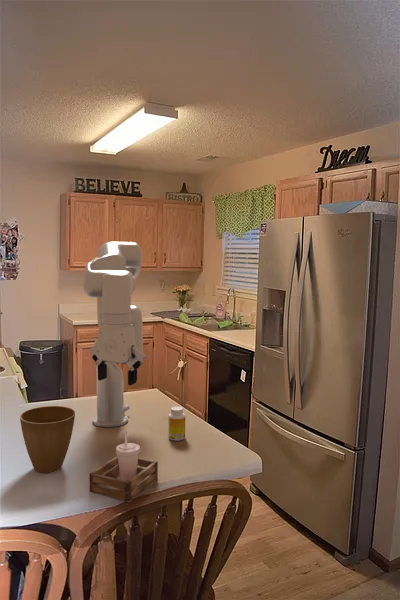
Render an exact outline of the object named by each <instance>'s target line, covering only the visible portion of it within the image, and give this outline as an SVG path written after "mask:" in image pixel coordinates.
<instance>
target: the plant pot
mask: <svg viewBox="0 0 400 600" xmlns="http://www.w3.org/2000/svg"><path fill="white" fill-rule="evenodd" d="M75 417H76V410H74V409H73V408H71V407H68V406H61V405H47V406H44V405H43V406H39V407H34V408H30V409H27V410H24V411H23V412H22V413H21V414H20V415H19V420H20V421H19V422H20V427H21V432H22V437H23V441H24V445H25V449H26V451H27V454H28V457H29V460H30V462H31V464H32V468H33V469H34V471H35V472H36V473H38V474H53V473H56V472H58V471H60V470H61V469H62V467H63V464H64V463H65V462H64V461H65V459H66V456H67V453H68V450H69V447H70V443H71V438H72V435H73V430H74V424H75V419H76V418H75Z"/></svg>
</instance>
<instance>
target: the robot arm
mask: <svg viewBox="0 0 400 600" xmlns="http://www.w3.org/2000/svg"><path fill="white" fill-rule="evenodd" d="M143 256H144V255H143V250H142V248H141V246H140V245H139V244H138V243H137V242H134V241H133V242H132V241H129V242H128V241H108V242H105V243H103V244H101V245H100V246H99V247H98V249H97V256H96V257H93V258H92V259H90V260H89V262H88V263H86V266H85V267H84V271H83V277H82V278H83V279H82V280H83V281H82V282H83V284H82V286H83V290H84V293H85V295H86V296H87V297H90V298H96V303H97V304H96V307H97V308H96V309H97V311H96V313H97V314H96V315H97V326H98V330H97V337H96V340H94V343H93V346H92V347H90V348H89V352H90V354H91V355H90V356H92V357H91V358H92V360H93V361H94V362H95V364H94V365H95V370H96V416H94V417H93V418H92V423H93V425H95V426H97V427H101V428H114V427H115V428H116V427H121V426H124V425H126V424H127V422H129V417H128V416H127V415H125V413H126V412H127V411H128V410H130V409H131V408H130V405H129V404H126V405H125V404H124V403H125V402H124V398H125V397H124V372H123V370H122V369H121V368H120V367H119V365H118V364H121V365H122V364H124V365H125V364H126V366H127V367H128V369H129V370H127V385H128V386H132V385H134V384H136V383H137V381H138V369H139V368H140V367H141V366H142V365H143V364H144V361H145V359H146V356H147V355H146V354H145V353H144V336H143V335H144V333H143V332H144V327H143V314H142V310H141V308H140V307H139V306H137V305H133V304H132V294H134V292H135V290H136V280H137V279H138V278H140V277H139V276H140V274H141V269H142V265H143V260H144V257H143Z"/></svg>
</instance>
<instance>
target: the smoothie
mask: <svg viewBox="0 0 400 600" xmlns="http://www.w3.org/2000/svg"><path fill="white" fill-rule="evenodd" d="M140 452H141V447H140V445H139V444H138V443H134V442H128V431H127V430H124V443H120V444H119V445H118V444H117V446H116V447H115V453H116V456H117V457H118V464H119V472H120V479H121V480H123V481H127V480H130V479H132V478H133V477H134V476H136V471H137V467H138V466H137V463H138V457H139V455H140Z"/></svg>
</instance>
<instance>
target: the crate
mask: <svg viewBox="0 0 400 600" xmlns="http://www.w3.org/2000/svg"><path fill="white" fill-rule="evenodd" d="M158 464H159V463H158V461H157V460H153V459H148V458H147V459H146V458H143V457H139V456H138V463H137V471H136V476H134V477H133V478H132V479H130V480H127V481H123V480H121V479H120V472H119V464H118V457H117V455H116V456H114V457H112V459H110V460H108V461H107V462H105V463H104V464H102V465H101V466H99V467H97V468H96V469H94V470H93V471H91V472H89V476H88V479H89V480H88V481H89V483H88V484H89V485H88V486H89V488H88V490H89V493H91V494H96V495H99V496H103V497H107V498H110V499H114V500H116V501H117V500H118V501H121V502H125V503H128V502H127V501H130V500H131V501H133V500H134V499H135V498H136V497H138V496H139V495H140V494H141V493H142V492H144V491H145V490H147V488H149V486H151V485H152V484H153V483H155V482H156V481H157V480H158V472H159V471H158V468H159V466H158ZM131 501H130V502H131Z"/></svg>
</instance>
